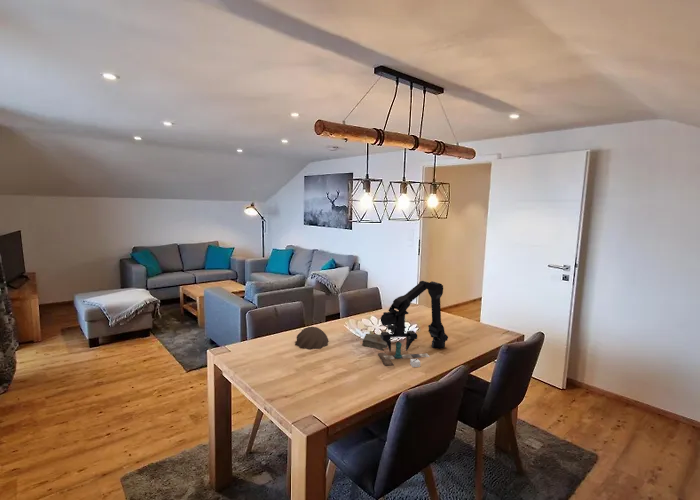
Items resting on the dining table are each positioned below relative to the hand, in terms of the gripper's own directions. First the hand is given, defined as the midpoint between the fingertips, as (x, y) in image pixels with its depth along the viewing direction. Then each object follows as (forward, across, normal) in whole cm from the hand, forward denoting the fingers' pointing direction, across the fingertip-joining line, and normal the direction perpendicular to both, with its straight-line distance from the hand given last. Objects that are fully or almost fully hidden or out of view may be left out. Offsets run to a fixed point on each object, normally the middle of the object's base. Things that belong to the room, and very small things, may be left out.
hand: (398, 351), depth 200 cm
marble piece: (+5, +6, -22) cm, 24 cm away
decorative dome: (+5, +43, -29) cm, 52 cm away
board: (+5, -5, 0) cm, 7 cm away
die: (+5, -6, +11) cm, 13 cm away
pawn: (+3, 0, 0) cm, 3 cm away
